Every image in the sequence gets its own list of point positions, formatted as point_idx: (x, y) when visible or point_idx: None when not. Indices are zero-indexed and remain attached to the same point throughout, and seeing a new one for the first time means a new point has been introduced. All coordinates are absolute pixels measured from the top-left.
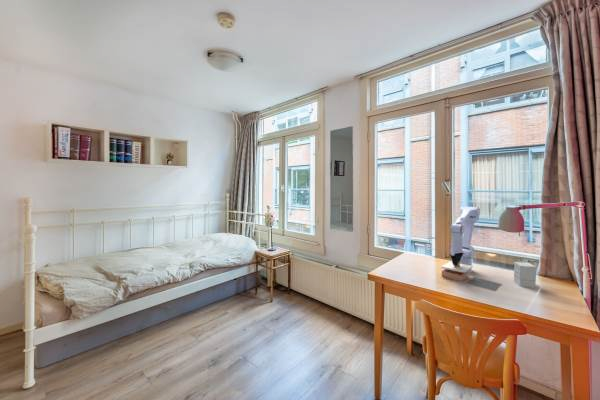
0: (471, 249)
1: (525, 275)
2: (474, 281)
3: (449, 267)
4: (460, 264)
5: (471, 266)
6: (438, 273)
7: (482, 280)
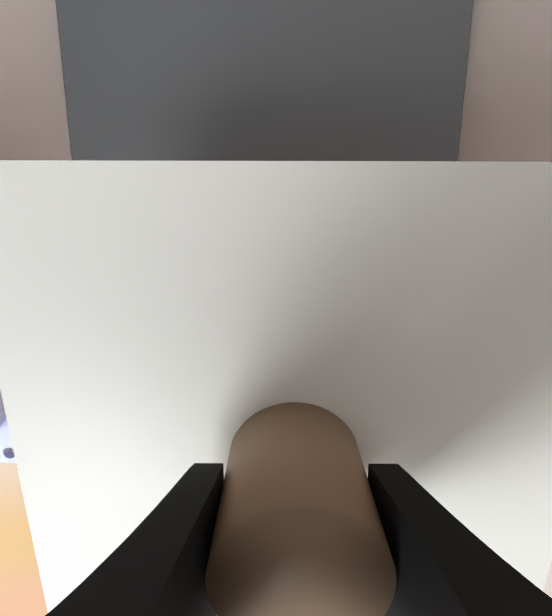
0: None
1: None
2: (279, 100)
3: (509, 537)
4: (76, 442)
5: (38, 162)
6: None
7: (126, 15)
